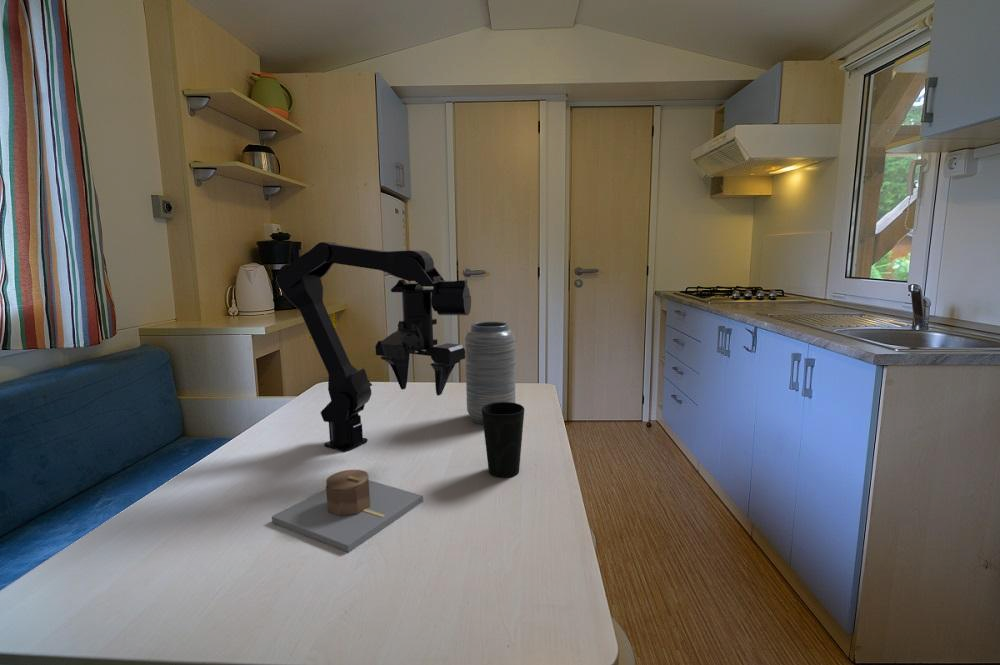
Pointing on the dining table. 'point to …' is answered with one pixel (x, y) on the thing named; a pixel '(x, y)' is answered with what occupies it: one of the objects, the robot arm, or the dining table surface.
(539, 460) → the dining table surface
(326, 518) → the base plate
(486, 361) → the vase
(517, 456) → the cup
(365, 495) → the knob
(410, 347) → the robot arm
